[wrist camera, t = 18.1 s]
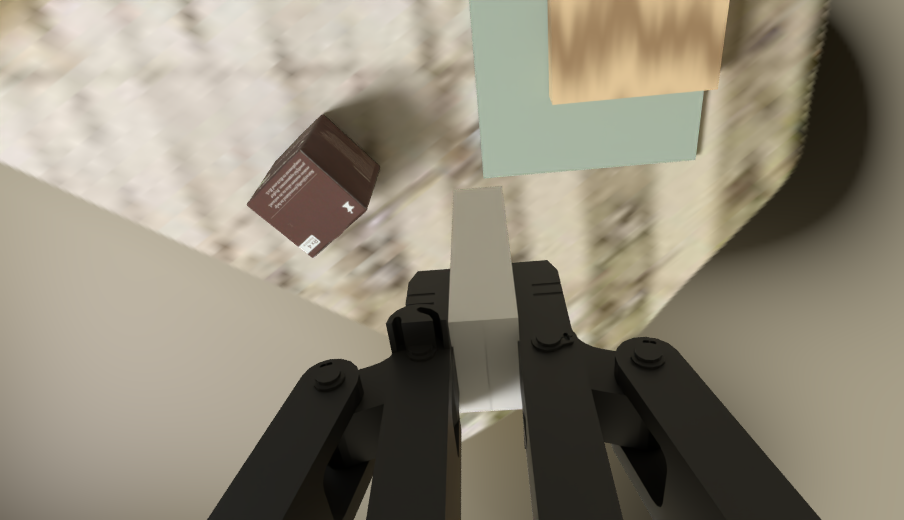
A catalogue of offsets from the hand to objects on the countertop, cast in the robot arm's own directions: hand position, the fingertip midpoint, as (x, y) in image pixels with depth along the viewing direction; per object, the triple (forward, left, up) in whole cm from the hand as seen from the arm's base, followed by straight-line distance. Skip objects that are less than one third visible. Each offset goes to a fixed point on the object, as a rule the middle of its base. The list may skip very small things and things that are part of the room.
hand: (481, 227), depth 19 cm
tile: (0, +5, -25) cm, 25 cm away
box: (+8, -12, -27) cm, 30 cm away
